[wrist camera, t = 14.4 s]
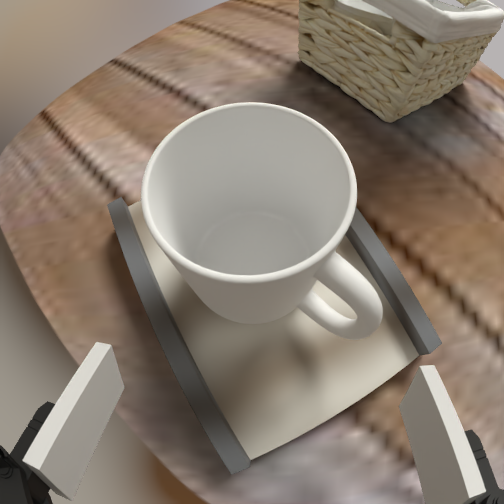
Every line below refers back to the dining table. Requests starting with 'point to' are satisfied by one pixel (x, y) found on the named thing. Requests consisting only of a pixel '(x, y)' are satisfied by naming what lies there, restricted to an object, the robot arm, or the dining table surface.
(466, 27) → the storage basket
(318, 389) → the rail board
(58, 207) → the dining table surface
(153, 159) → the cup
